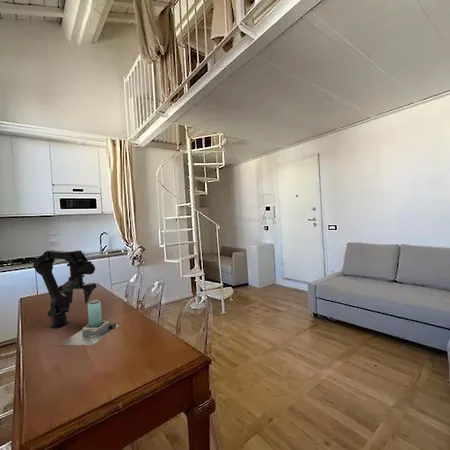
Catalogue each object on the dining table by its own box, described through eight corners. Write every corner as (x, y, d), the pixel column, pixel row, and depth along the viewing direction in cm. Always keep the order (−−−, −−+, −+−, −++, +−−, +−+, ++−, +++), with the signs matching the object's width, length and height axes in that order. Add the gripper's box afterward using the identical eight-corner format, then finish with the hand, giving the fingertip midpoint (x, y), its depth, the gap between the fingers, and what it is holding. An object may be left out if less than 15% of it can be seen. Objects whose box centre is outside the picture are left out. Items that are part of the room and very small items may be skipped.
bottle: (87, 329, 126) (85, 303, 126) (91, 325, 132) (89, 299, 132) (100, 328, 127) (98, 301, 127) (103, 323, 133) (101, 298, 133)
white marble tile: (58, 346, 118) (57, 336, 118) (90, 326, 140) (89, 318, 140) (92, 347, 115) (92, 336, 115) (119, 326, 137) (119, 317, 137)
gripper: (48, 278, 133) (50, 308, 133) (82, 277, 130) (84, 308, 130) (65, 273, 144) (67, 301, 144) (96, 272, 141) (98, 301, 141)
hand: (78, 303), depth 140 cm, fingers open, 9 cm apart
